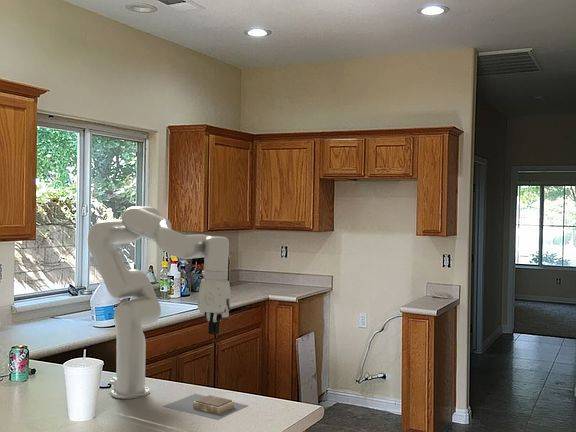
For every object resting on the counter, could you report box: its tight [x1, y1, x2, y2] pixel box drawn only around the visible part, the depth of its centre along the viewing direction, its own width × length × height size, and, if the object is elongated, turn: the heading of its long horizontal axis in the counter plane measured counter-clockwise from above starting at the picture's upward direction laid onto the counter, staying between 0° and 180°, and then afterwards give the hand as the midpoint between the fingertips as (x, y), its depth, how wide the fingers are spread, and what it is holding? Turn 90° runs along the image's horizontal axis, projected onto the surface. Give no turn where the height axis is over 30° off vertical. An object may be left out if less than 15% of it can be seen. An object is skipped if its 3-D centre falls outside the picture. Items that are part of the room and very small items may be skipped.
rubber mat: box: [162, 393, 249, 421], centre depth 200 cm, size 22×16×1 cm
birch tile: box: [193, 394, 235, 414], centre depth 198 cm, size 2×8×10 cm
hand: (213, 333), depth 198 cm, fingers closed
